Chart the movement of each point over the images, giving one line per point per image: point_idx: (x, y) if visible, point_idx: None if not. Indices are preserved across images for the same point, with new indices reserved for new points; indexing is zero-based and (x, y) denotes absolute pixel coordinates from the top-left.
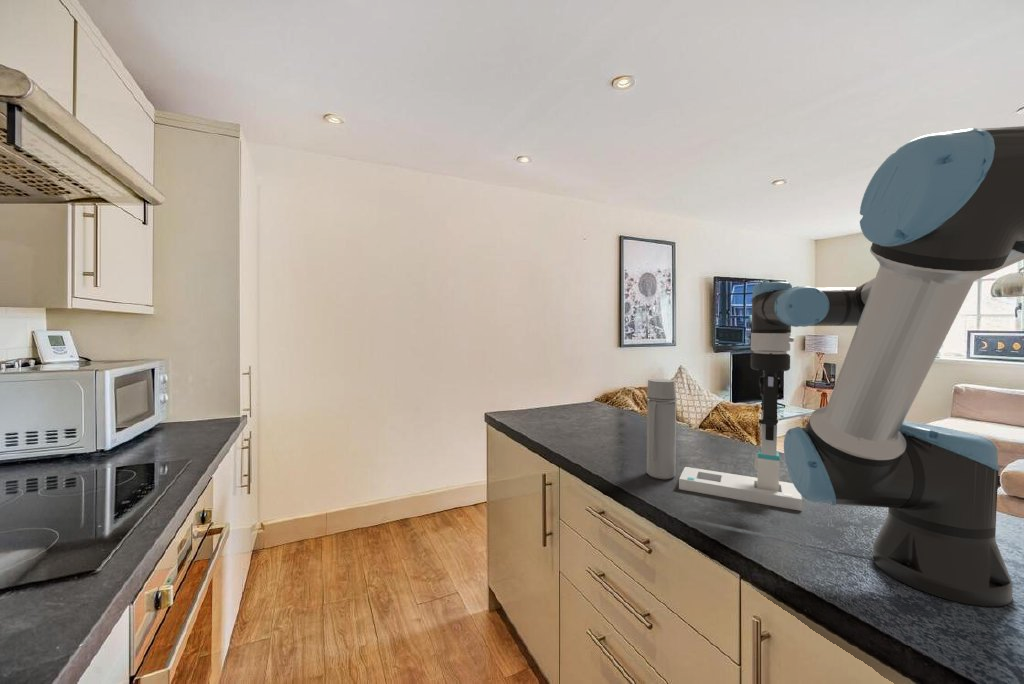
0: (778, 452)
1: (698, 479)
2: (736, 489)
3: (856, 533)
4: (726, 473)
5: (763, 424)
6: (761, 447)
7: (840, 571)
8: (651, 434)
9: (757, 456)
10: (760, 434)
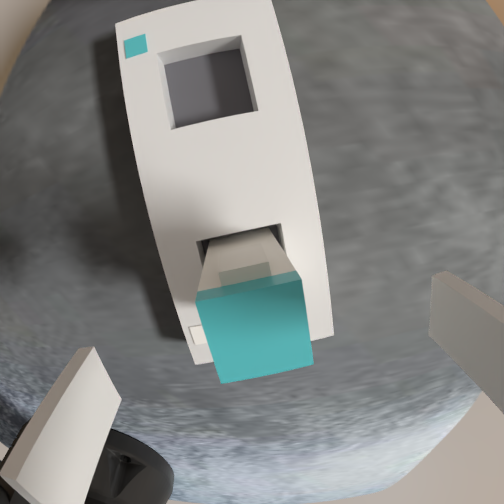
0: (299, 367)
1: (147, 64)
2: (144, 194)
3: (173, 417)
4: (295, 119)
5: (7, 477)
6: (64, 368)
7: (23, 386)
8: None
9: (229, 282)
10: (457, 278)
